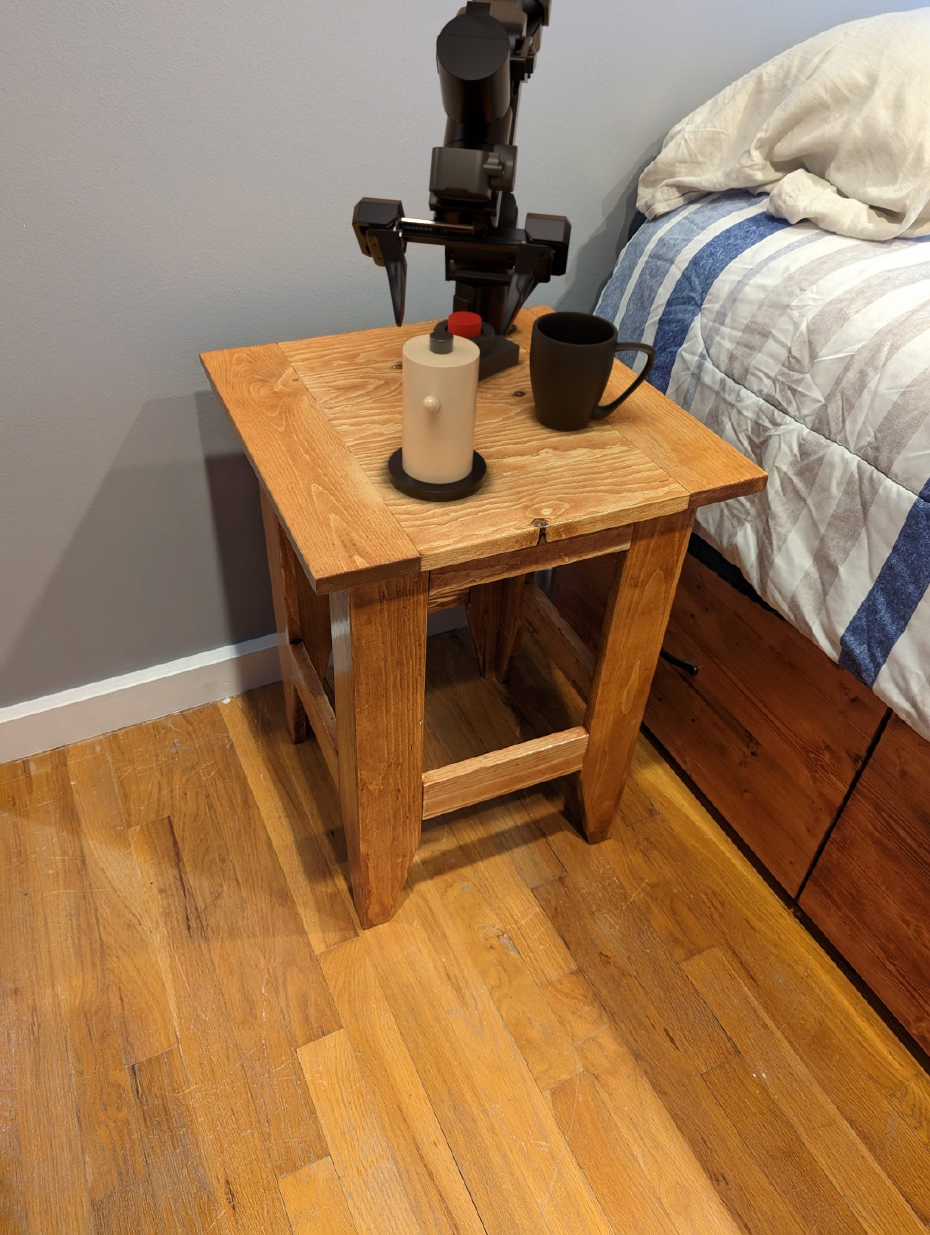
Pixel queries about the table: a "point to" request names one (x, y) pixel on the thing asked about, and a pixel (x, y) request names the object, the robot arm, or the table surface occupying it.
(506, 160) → the robot arm
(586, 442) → the table surface
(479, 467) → the plate
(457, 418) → the cream cylinder
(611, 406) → the mug
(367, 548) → the table surface
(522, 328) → the table surface
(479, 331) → the stop button
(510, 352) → the switch block
